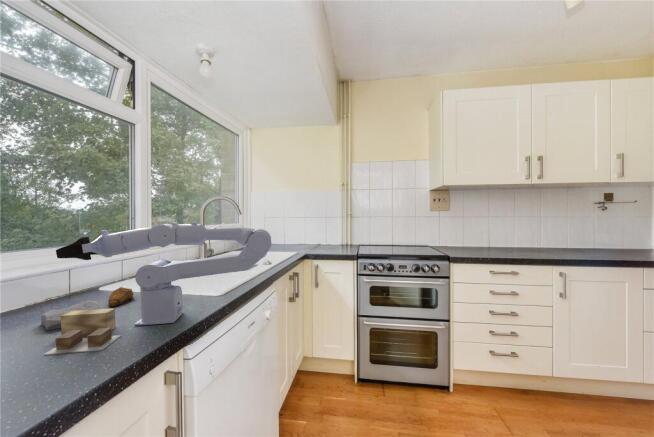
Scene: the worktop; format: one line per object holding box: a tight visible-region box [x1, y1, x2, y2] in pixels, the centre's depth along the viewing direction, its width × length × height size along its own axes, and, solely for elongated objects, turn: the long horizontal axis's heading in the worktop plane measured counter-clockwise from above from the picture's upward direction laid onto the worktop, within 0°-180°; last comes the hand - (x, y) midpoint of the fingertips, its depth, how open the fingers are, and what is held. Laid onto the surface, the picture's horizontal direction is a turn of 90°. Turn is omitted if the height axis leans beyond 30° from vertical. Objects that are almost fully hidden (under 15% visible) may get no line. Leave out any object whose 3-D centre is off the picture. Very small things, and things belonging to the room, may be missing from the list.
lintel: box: [60, 307, 117, 335], centre depth 70 cm, size 10×3×5 cm, turn 98°
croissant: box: [107, 286, 135, 308], centre depth 94 cm, size 14×7×5 cm, turn 17°
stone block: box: [40, 300, 101, 331], centre depth 77 cm, size 12×5×10 cm
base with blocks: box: [43, 328, 122, 356], centre depth 63 cm, size 11×7×3 cm, turn 98°
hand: (68, 252), depth 73 cm, fingers open, 7 cm apart
